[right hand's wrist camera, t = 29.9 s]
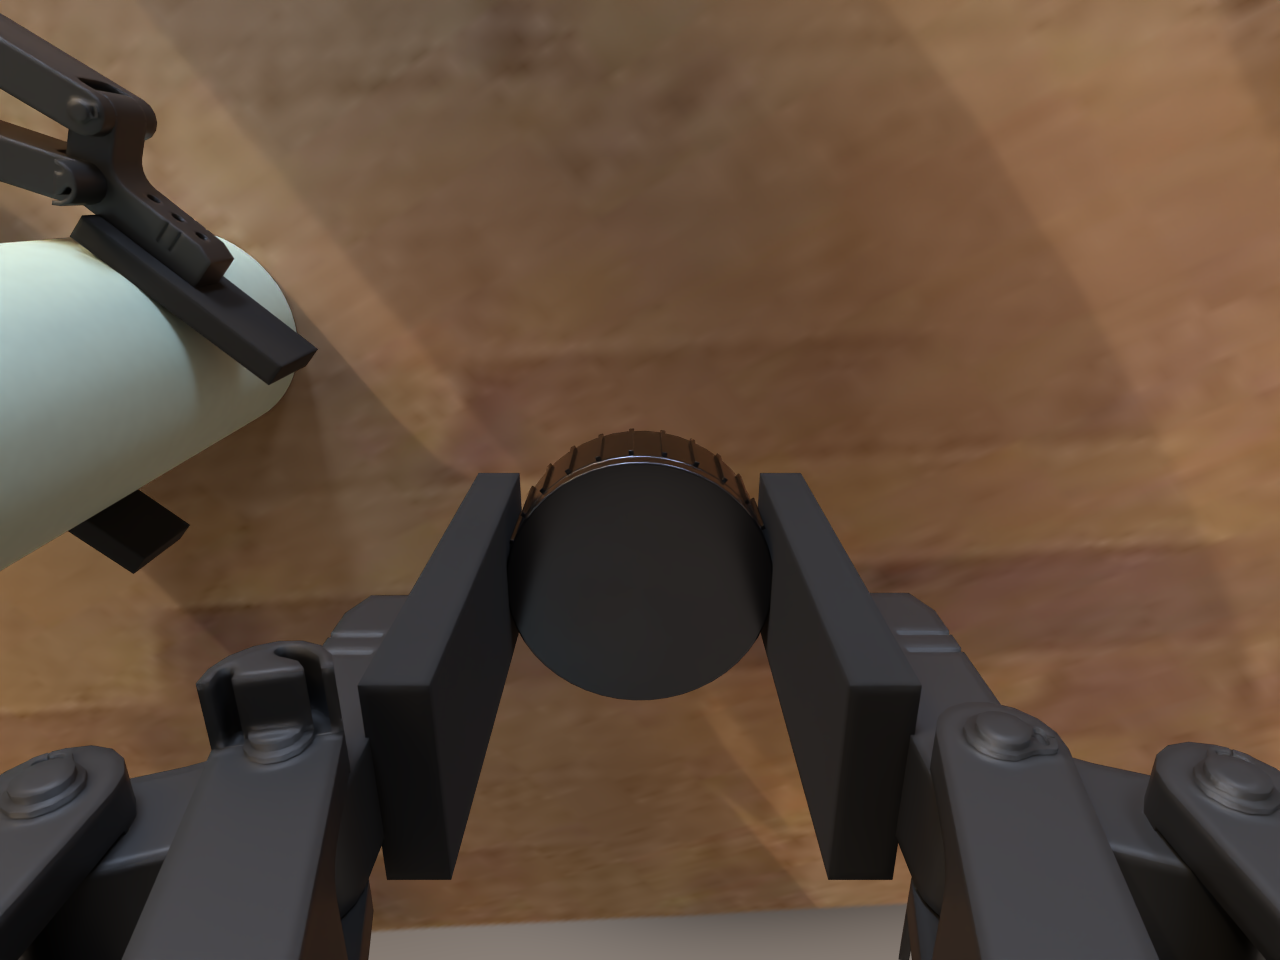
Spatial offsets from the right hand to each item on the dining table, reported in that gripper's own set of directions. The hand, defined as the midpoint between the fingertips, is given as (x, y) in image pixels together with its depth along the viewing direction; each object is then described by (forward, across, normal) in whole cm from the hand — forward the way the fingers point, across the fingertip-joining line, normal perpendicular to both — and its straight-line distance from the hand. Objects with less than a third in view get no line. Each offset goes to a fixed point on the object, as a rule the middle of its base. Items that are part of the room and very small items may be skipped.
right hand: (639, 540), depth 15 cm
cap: (-2, 0, 0) cm, 2 cm away
